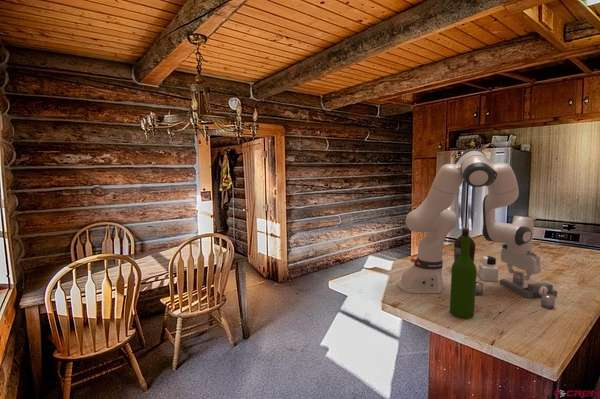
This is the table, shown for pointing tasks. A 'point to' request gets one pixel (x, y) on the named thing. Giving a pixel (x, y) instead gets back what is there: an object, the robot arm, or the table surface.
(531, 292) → the scale
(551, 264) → the table surface
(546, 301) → the cylinder
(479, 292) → the cylinder
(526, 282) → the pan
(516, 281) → the cylinder
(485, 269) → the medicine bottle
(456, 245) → the olive oil
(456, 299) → the wine bottle
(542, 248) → the table surface
